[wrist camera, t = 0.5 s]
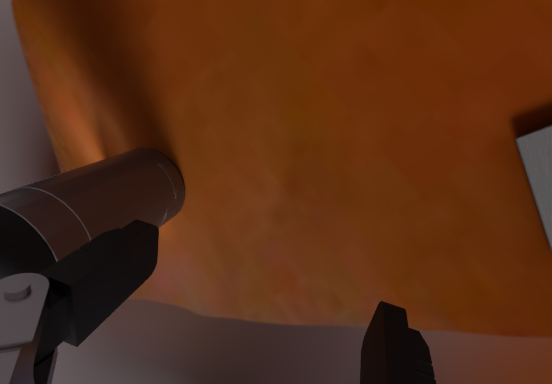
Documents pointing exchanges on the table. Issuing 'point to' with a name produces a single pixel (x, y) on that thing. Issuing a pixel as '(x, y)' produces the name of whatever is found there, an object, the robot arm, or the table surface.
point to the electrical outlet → (539, 171)
